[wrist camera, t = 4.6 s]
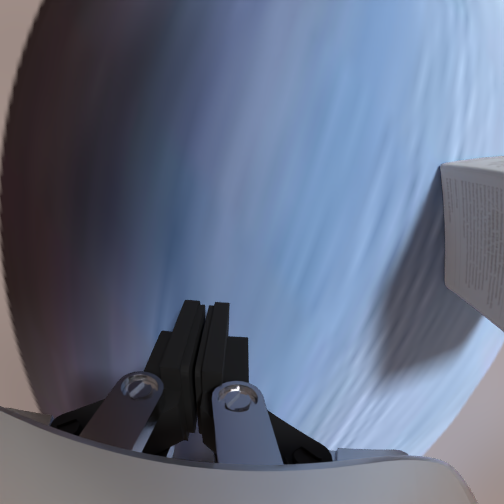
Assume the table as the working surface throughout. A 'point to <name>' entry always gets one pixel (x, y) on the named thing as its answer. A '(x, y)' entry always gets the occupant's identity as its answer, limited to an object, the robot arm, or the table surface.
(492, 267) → the skincare box
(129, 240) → the table surface
